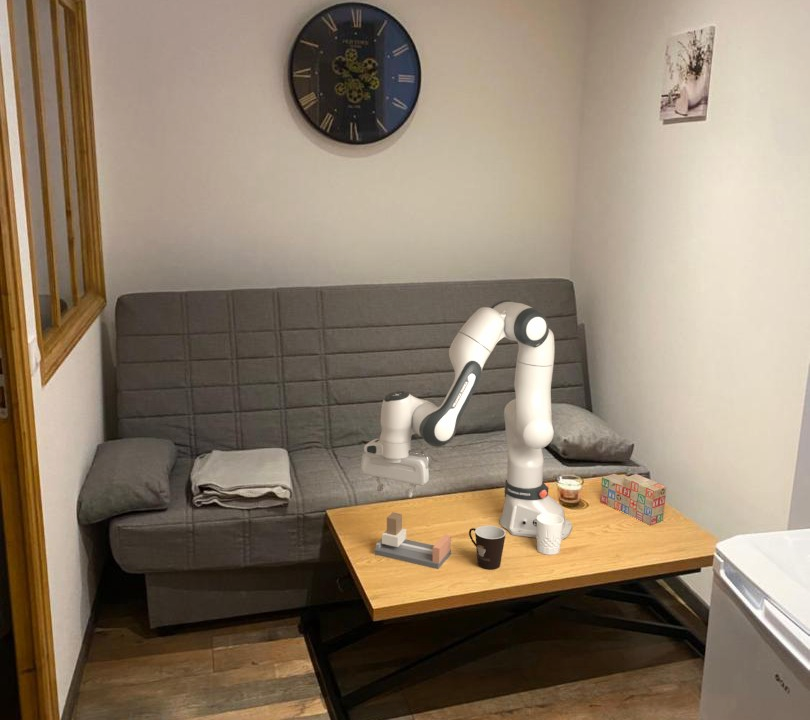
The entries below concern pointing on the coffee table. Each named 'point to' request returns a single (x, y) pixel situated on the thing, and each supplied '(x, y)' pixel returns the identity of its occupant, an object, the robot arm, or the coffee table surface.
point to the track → (417, 552)
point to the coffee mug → (489, 546)
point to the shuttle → (394, 530)
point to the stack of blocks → (635, 497)
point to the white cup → (549, 533)
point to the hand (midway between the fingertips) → (393, 493)
